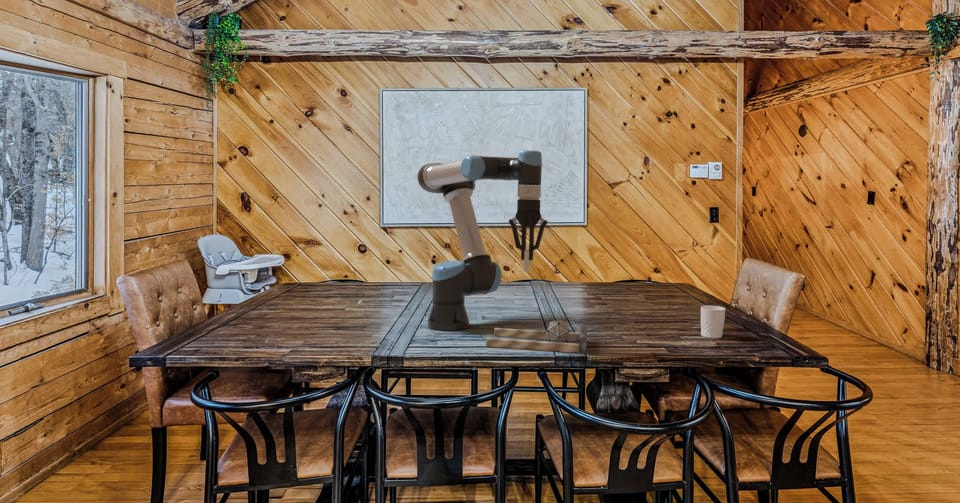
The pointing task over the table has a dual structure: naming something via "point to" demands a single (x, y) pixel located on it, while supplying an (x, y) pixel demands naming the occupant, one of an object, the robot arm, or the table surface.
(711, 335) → the white cup
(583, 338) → the guide channel
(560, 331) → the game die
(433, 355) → the table surface
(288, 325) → the table surface
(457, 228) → the robot arm
